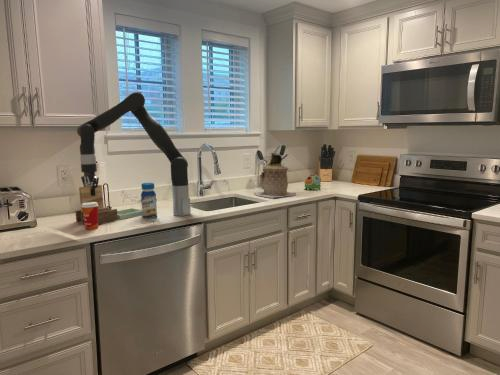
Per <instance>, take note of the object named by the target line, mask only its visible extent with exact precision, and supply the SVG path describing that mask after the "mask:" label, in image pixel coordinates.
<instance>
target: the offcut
mask: <svg viewBox="0 0 500 375" xmlns="http://www.w3.org/2000/svg"><path fill="white" fill-rule="evenodd" d="M105 207H106V206H103V208H98V212H102V211H107V208H105Z"/></svg>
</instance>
